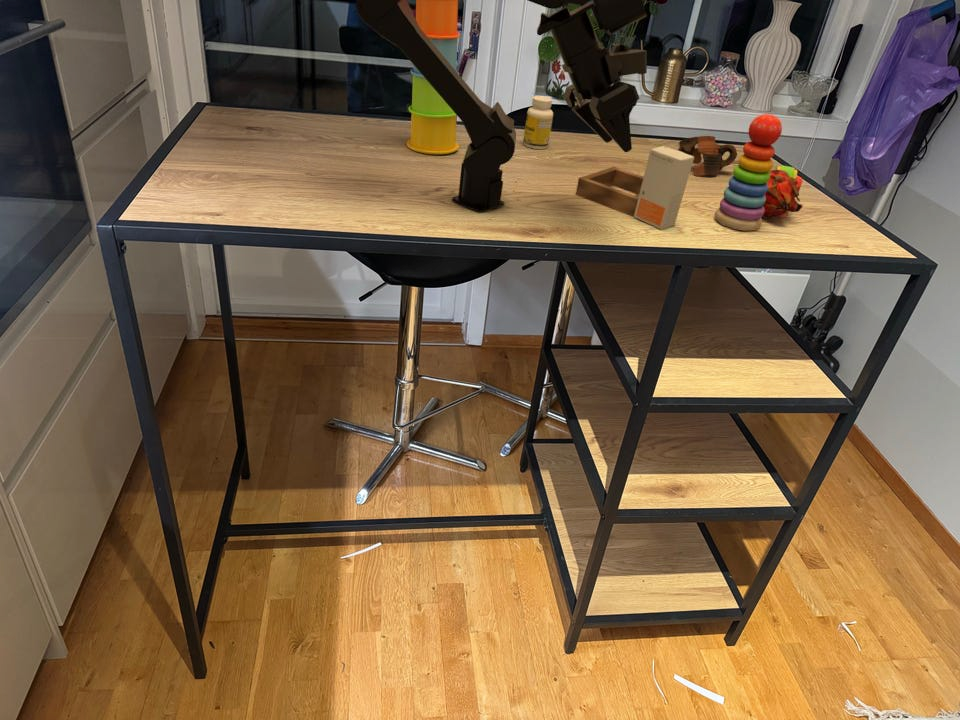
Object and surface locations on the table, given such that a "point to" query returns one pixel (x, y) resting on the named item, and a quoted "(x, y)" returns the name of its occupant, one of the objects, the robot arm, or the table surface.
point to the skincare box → (663, 186)
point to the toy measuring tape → (791, 174)
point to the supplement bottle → (538, 123)
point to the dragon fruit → (781, 195)
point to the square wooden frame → (611, 189)
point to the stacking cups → (428, 108)
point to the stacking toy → (750, 177)
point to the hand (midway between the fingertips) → (618, 146)
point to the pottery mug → (707, 154)
